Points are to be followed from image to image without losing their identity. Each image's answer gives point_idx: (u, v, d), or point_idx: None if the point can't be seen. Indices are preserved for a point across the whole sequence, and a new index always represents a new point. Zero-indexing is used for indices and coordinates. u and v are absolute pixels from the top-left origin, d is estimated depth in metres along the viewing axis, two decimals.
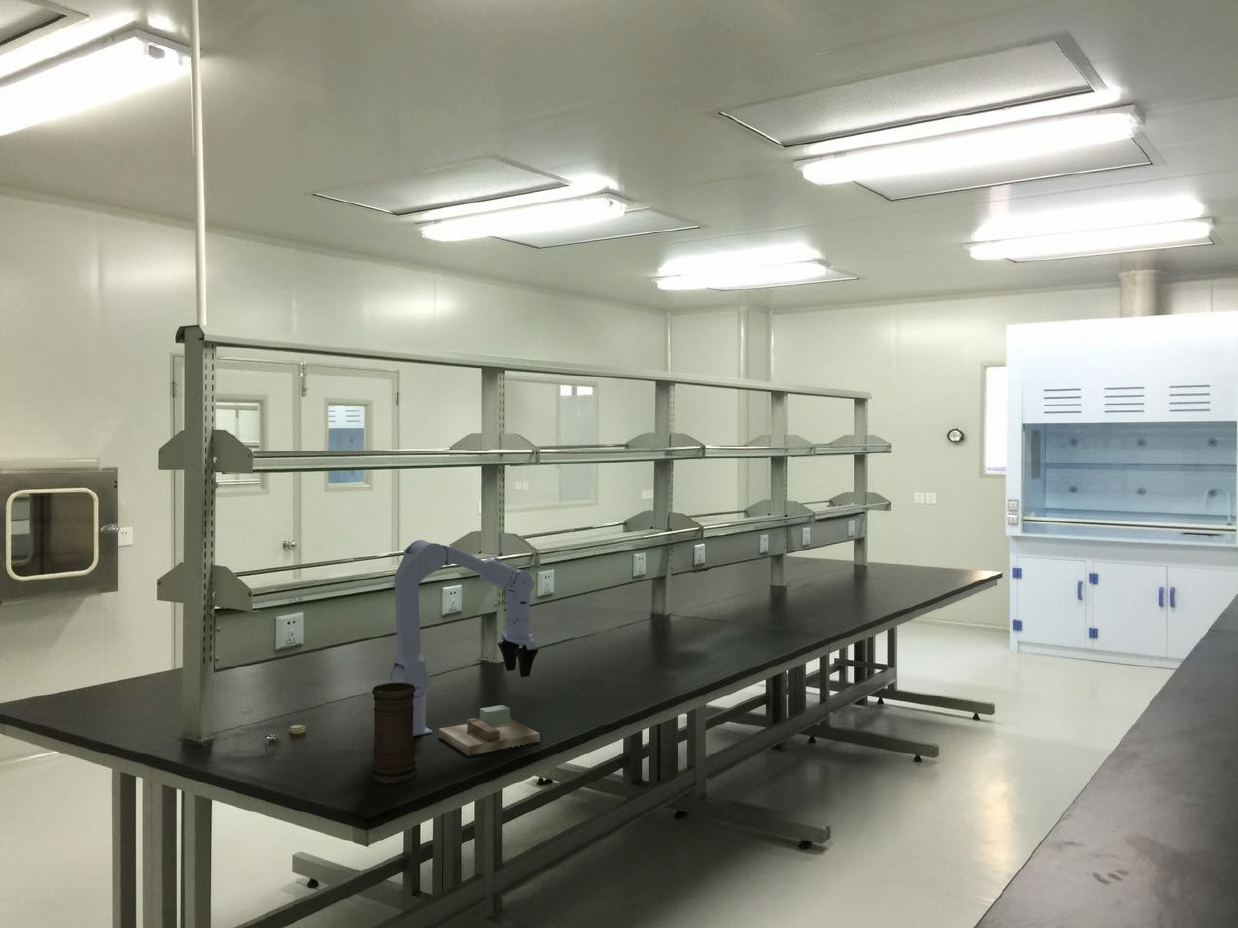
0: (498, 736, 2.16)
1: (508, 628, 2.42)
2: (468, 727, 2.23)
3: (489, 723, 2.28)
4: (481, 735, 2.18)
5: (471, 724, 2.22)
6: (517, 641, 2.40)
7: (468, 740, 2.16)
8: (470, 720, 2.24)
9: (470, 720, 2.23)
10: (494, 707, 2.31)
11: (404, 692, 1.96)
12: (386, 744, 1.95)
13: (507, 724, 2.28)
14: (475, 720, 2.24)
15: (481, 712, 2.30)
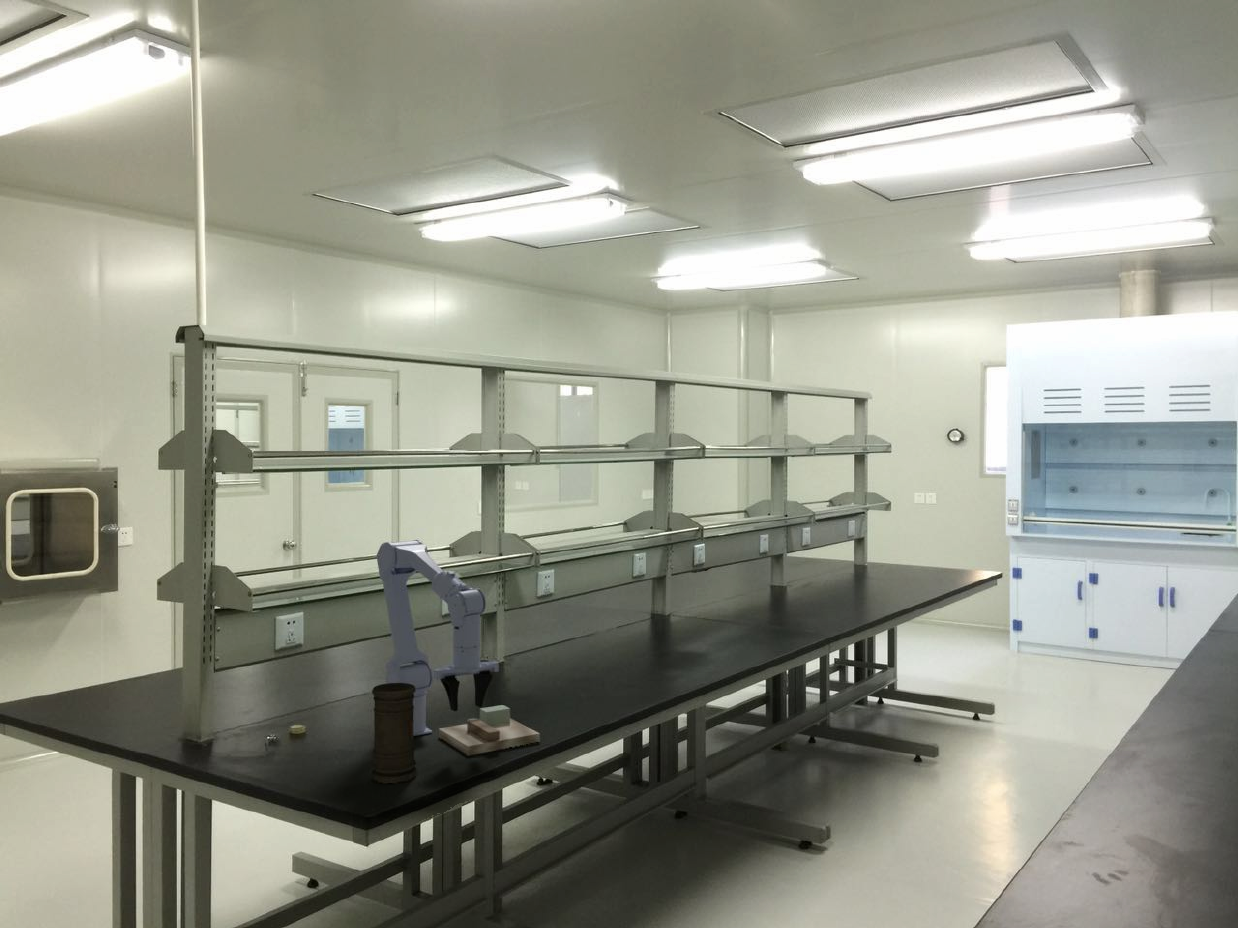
0: (498, 736, 2.16)
1: None
2: (468, 727, 2.23)
3: (489, 723, 2.28)
4: (481, 735, 2.18)
5: (471, 724, 2.22)
6: None
7: (468, 740, 2.16)
8: (470, 720, 2.24)
9: (470, 720, 2.23)
10: (494, 707, 2.31)
11: (404, 692, 1.96)
12: (386, 744, 1.95)
13: (507, 724, 2.28)
14: (475, 720, 2.24)
15: (481, 712, 2.30)
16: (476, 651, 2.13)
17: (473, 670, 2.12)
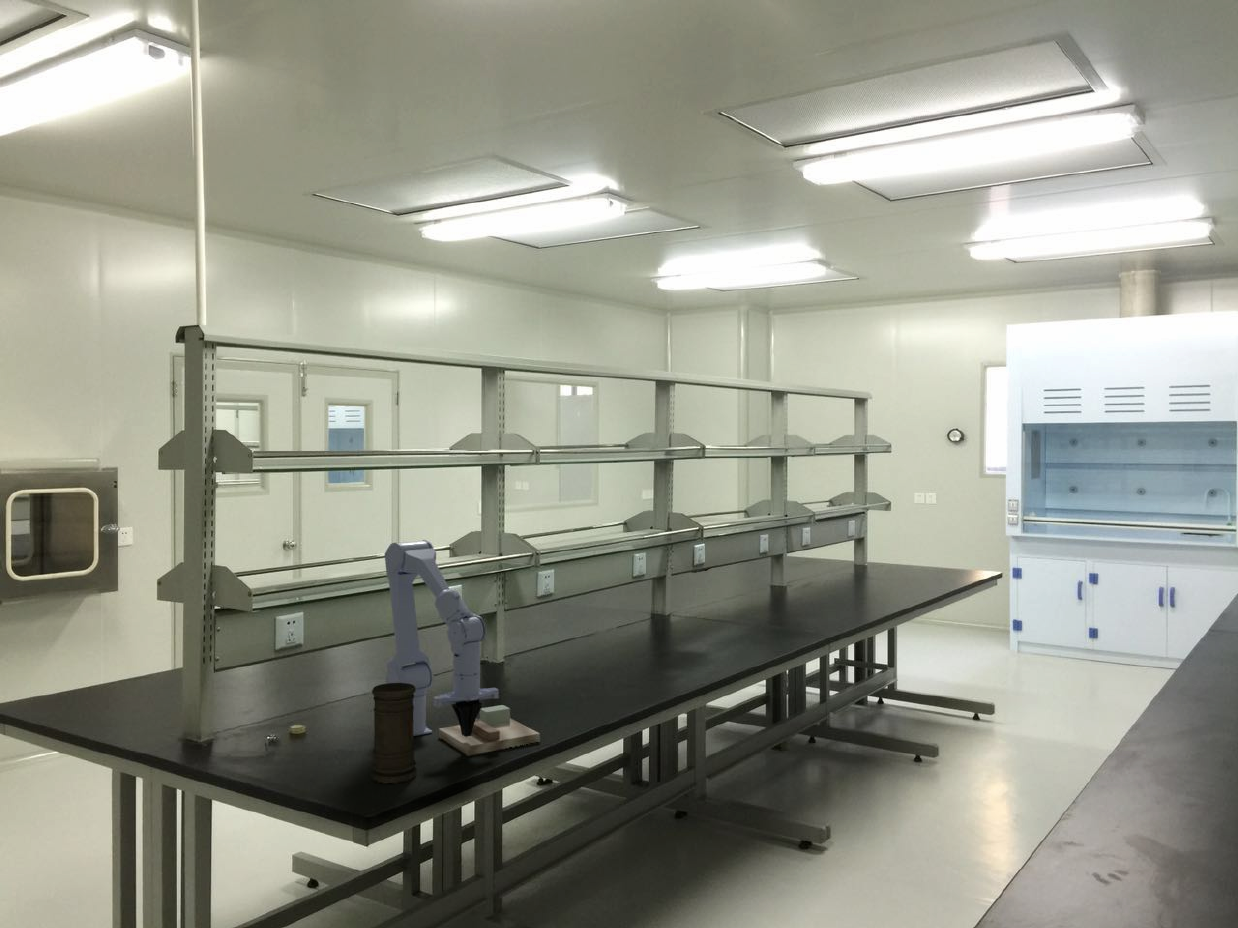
0: (498, 736, 2.16)
1: None
2: None
3: (489, 723, 2.28)
4: (481, 735, 2.18)
5: None
6: None
7: (468, 740, 2.16)
8: None
9: None
10: (494, 707, 2.31)
11: (404, 692, 1.96)
12: (386, 744, 1.95)
13: (507, 724, 2.28)
14: (475, 720, 2.24)
15: (481, 712, 2.30)
16: (476, 678, 2.14)
17: (473, 698, 2.12)
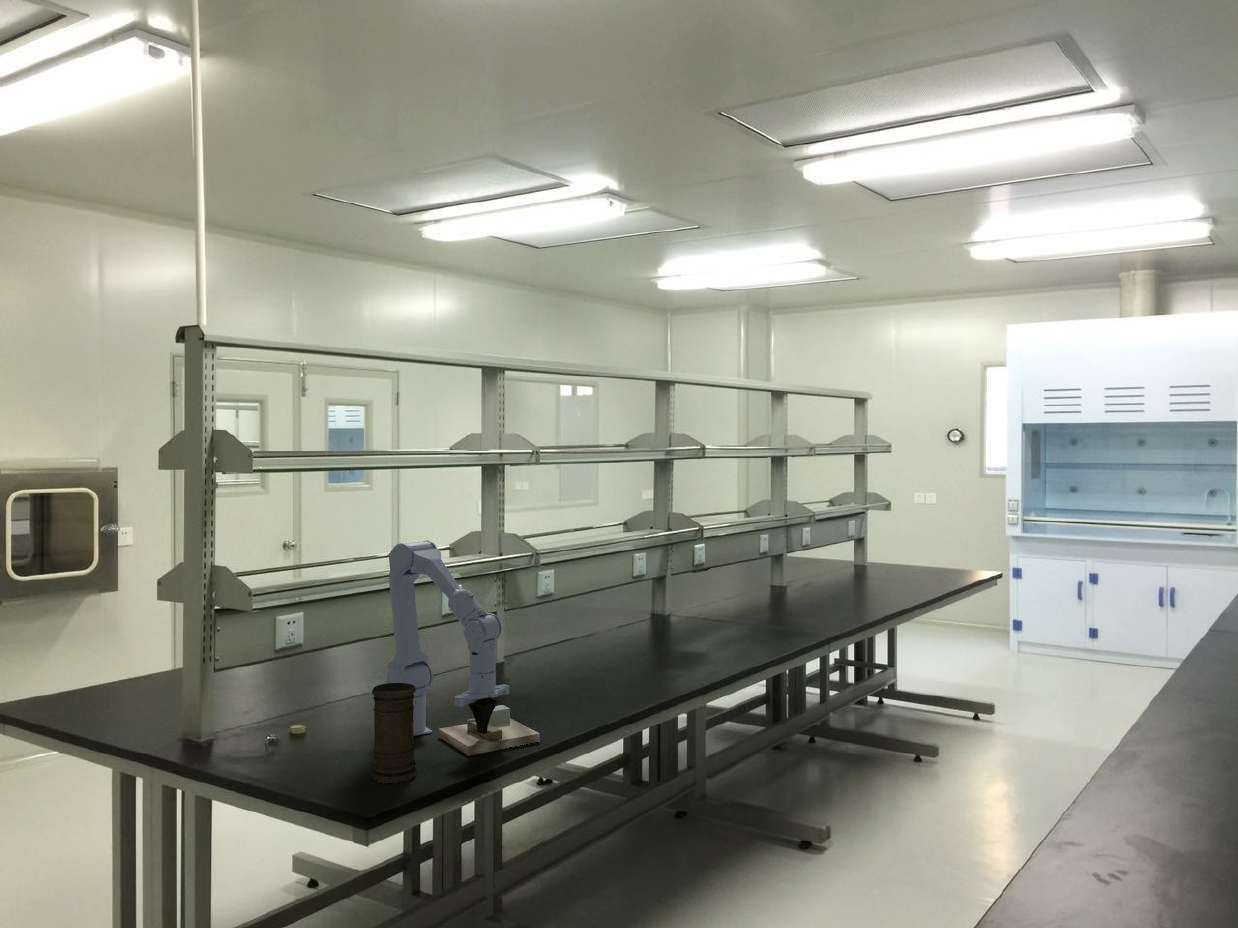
0: (501, 735, 2.16)
1: None
2: (468, 727, 2.23)
3: (489, 723, 2.28)
4: (483, 735, 2.18)
5: (472, 724, 2.22)
6: None
7: (468, 740, 2.16)
8: (470, 720, 2.24)
9: (470, 720, 2.23)
10: None
11: (404, 692, 1.96)
12: (386, 744, 1.95)
13: (507, 724, 2.28)
14: None
15: None
16: (494, 675, 2.16)
17: (494, 694, 2.14)
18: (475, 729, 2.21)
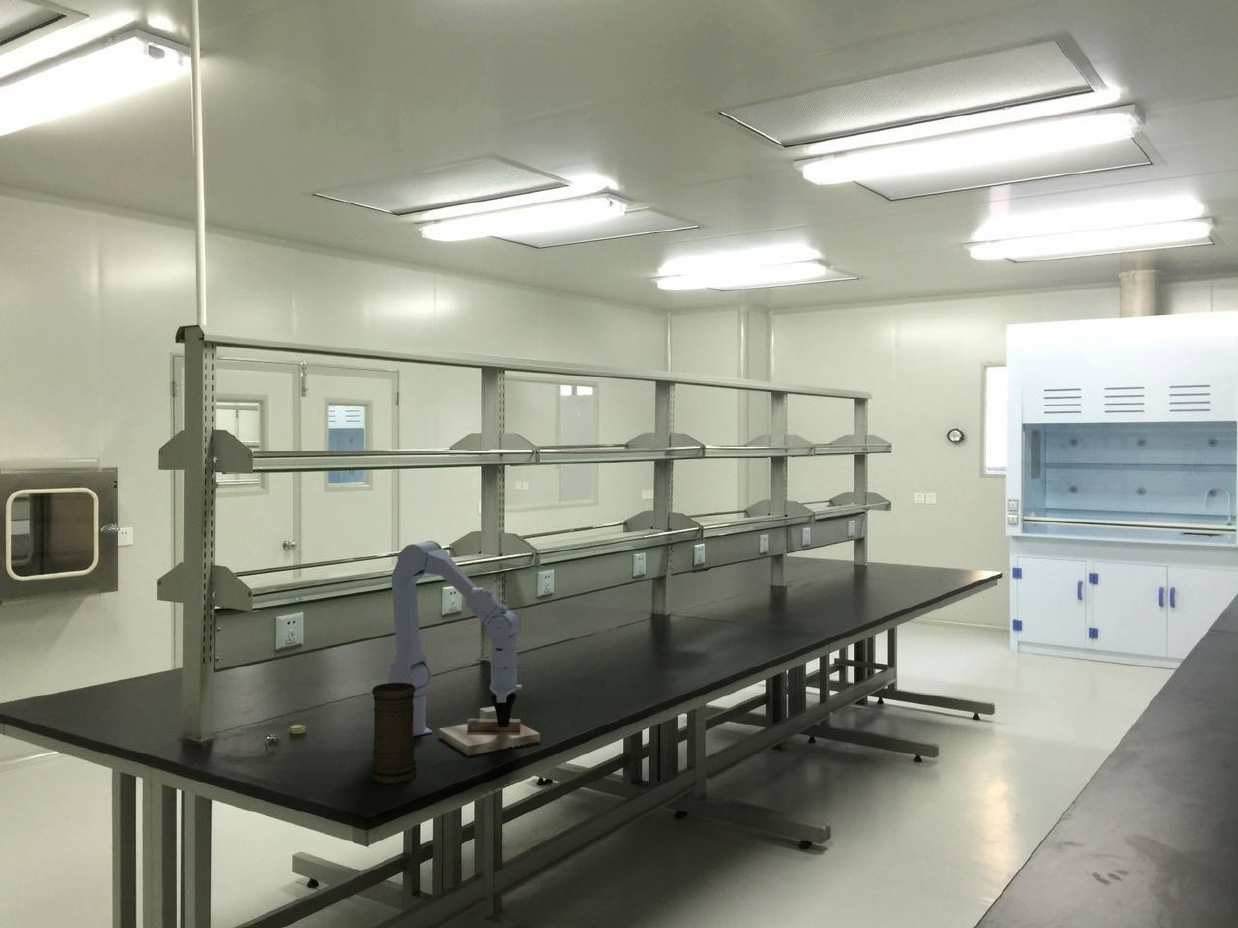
0: (520, 724, 2.25)
1: (491, 676, 2.21)
2: (473, 728, 2.23)
3: None
4: (502, 729, 2.23)
5: (479, 723, 2.23)
6: (493, 691, 2.18)
7: (468, 740, 2.16)
8: (471, 721, 2.23)
9: (473, 721, 2.23)
10: (494, 707, 2.31)
11: (404, 692, 1.96)
12: (386, 744, 1.95)
13: None
14: (475, 719, 2.24)
15: (481, 712, 2.30)
16: None
17: (521, 686, 2.22)
18: (486, 727, 2.23)
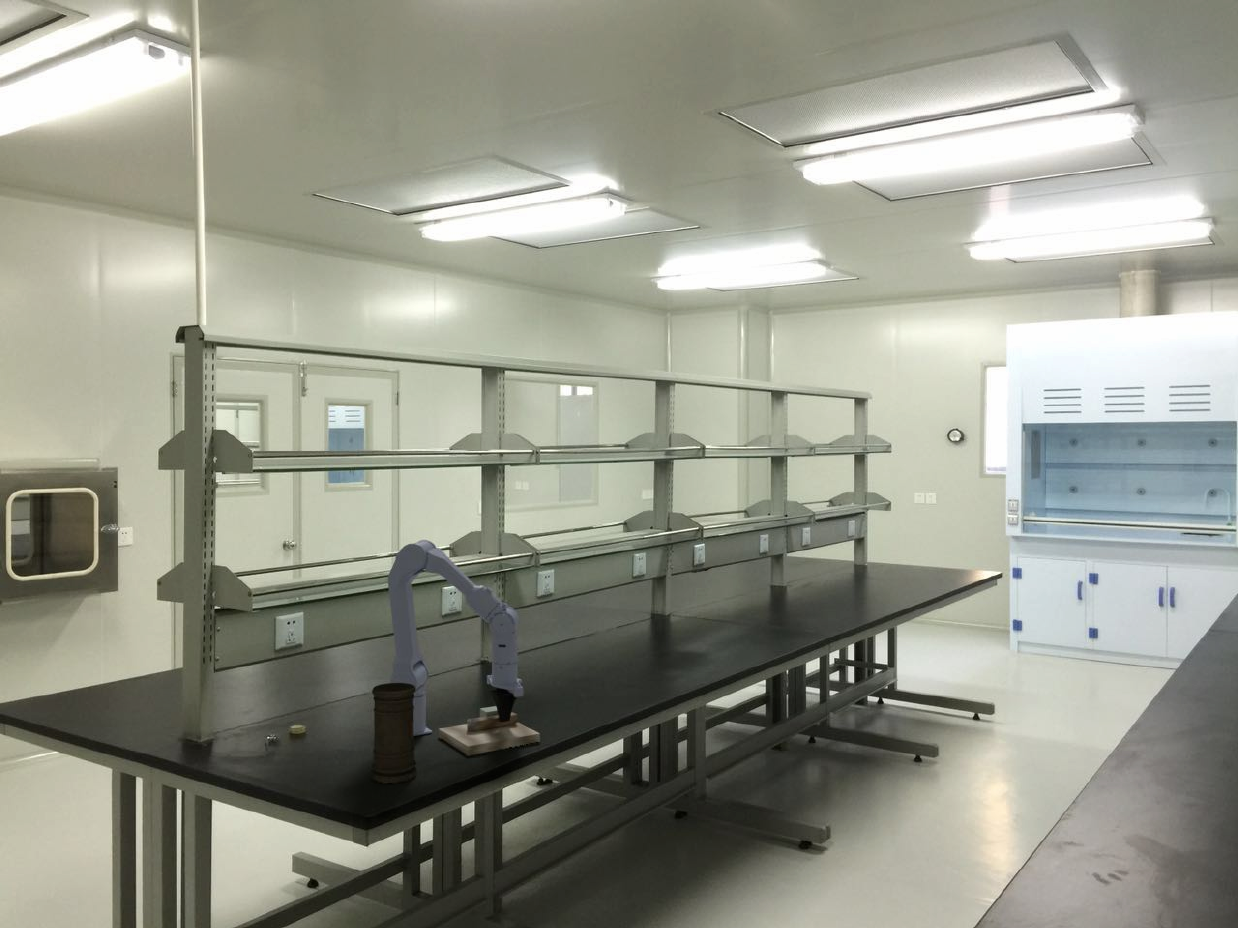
0: None
1: (494, 673, 2.24)
2: (477, 727, 2.23)
3: None
4: (502, 723, 2.27)
5: (482, 722, 2.24)
6: (504, 687, 2.22)
7: (468, 740, 2.16)
8: (473, 721, 2.23)
9: (475, 720, 2.23)
10: (494, 707, 2.31)
11: (404, 692, 1.96)
12: (386, 744, 1.95)
13: None
14: (474, 719, 2.24)
15: (481, 712, 2.30)
16: None
17: None
18: (488, 724, 2.25)
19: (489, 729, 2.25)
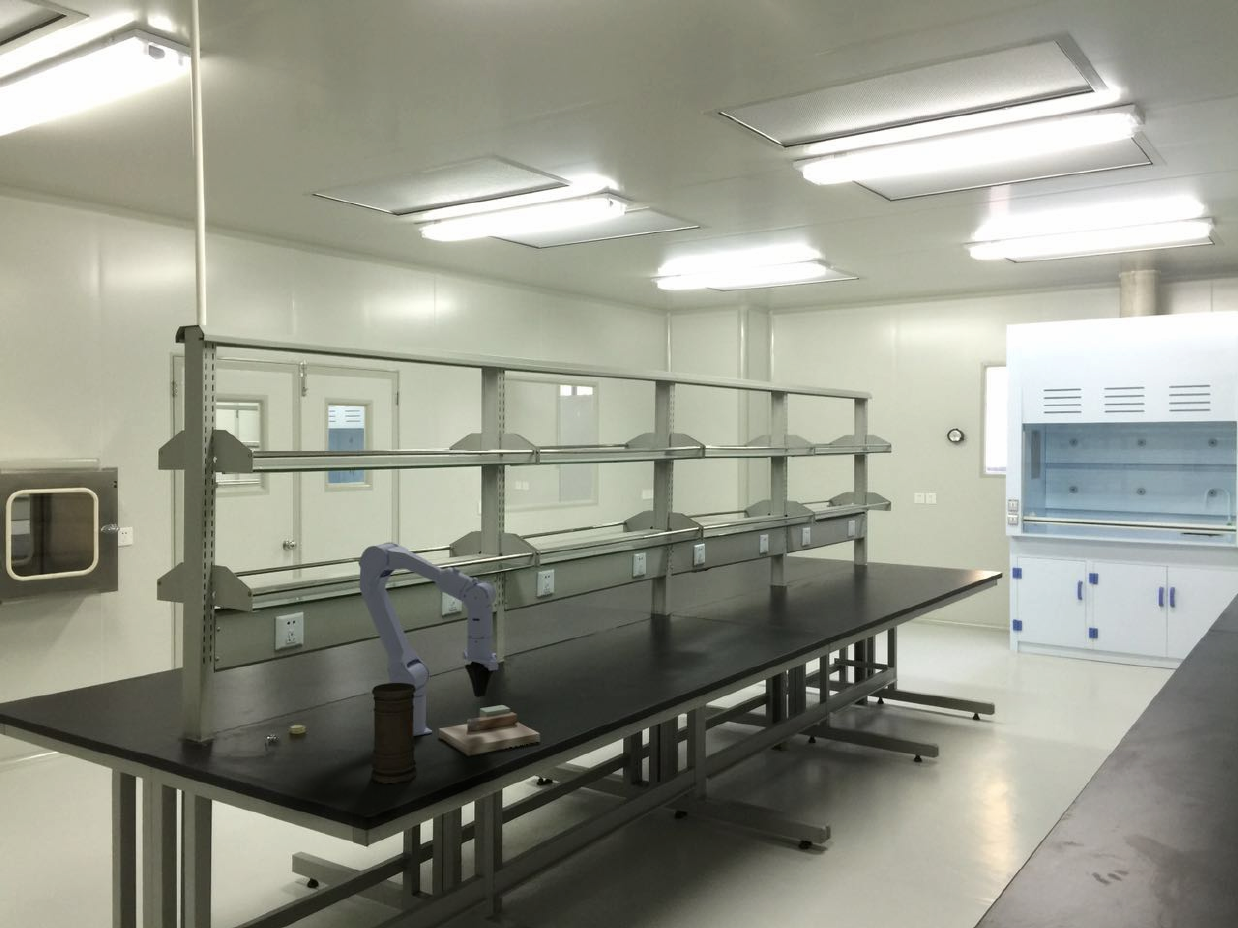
0: None
1: (469, 647, 2.24)
2: (477, 727, 2.23)
3: None
4: (502, 723, 2.27)
5: (482, 722, 2.24)
6: (478, 661, 2.21)
7: (468, 740, 2.16)
8: (473, 721, 2.23)
9: (475, 720, 2.23)
10: (494, 707, 2.31)
11: (404, 692, 1.96)
12: (386, 744, 1.95)
13: None
14: (474, 719, 2.24)
15: (481, 712, 2.30)
16: None
17: None
18: (488, 724, 2.25)
19: (489, 729, 2.25)
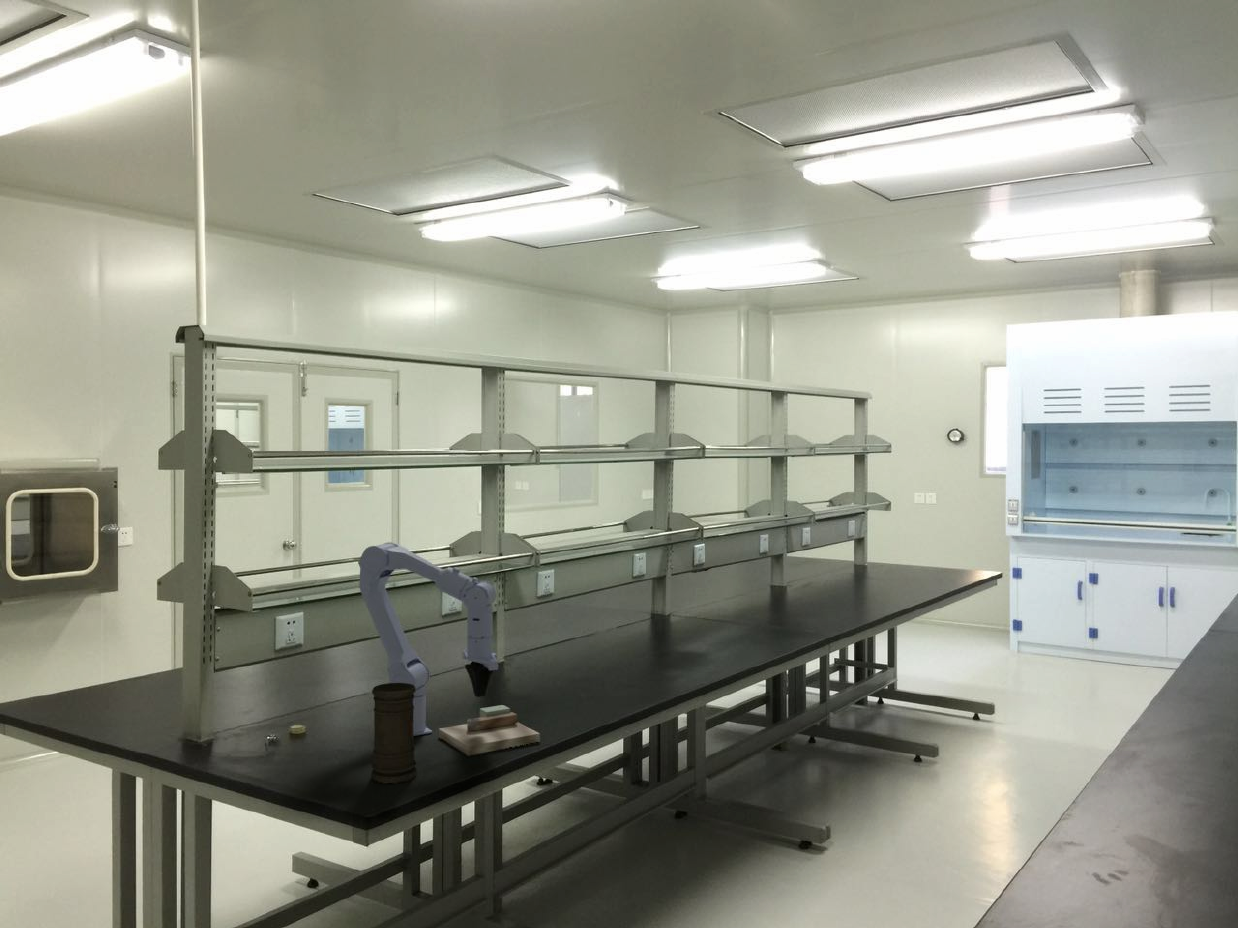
0: None
1: (469, 647, 2.24)
2: (477, 727, 2.23)
3: None
4: (502, 723, 2.27)
5: (482, 722, 2.24)
6: (478, 661, 2.21)
7: (468, 740, 2.16)
8: (473, 721, 2.23)
9: (475, 720, 2.23)
10: (494, 707, 2.31)
11: (404, 692, 1.96)
12: (386, 744, 1.95)
13: None
14: (474, 719, 2.24)
15: (481, 712, 2.30)
16: None
17: None
18: (488, 724, 2.25)
19: (489, 729, 2.25)
